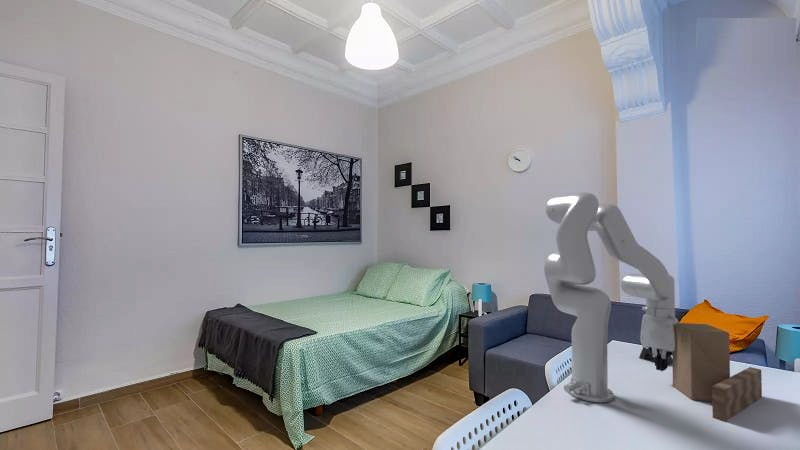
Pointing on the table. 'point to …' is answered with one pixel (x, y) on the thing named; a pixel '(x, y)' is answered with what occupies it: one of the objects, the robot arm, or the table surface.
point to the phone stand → (651, 356)
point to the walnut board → (736, 393)
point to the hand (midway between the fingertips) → (661, 369)
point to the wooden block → (700, 359)
